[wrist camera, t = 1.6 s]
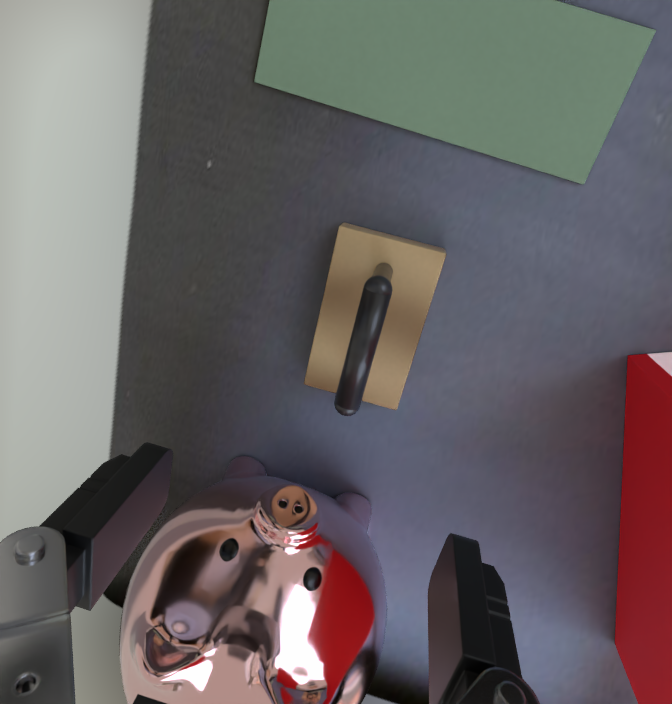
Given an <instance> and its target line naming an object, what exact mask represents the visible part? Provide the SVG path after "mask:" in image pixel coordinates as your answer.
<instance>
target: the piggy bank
mask: <svg viewBox="0 0 672 704" xmlns="http://www.w3.org/2000/svg"><path fill="white" fill-rule="evenodd" d="M371 514H372V508H371V505H370V503H369V501H368V500H367V499H366V498H364V497H363V496H361V495H359V494H356V493H351V492H347V493H342V494H340V495H338V496H337V497H336V498H335V499H333V498H331V497H330V496H328V495H325V494H323V493H321V492H319V491H317V490H314V489H312V488H309V487H306V486H303V485H300V484H298V483H295V482H292V481H288V480H285V479H281V478H277V477H273V476H267V475H266V470H265V468H264V466H263V465H262V463H260V462H259V461H258V460H256V459H254V458H252V457H248V456H239V457H236V458H234V459H233V460H232V461H231V462H230V464H229V466H228V468H227V470H226V472H225V475H224V477H223V478H222V480H221V481H220V482H217V483H215V484H213V485H211V486H209V487H207V488H205V489H203V490H202V491H200V492H198V493H197V494H195V495H193V496H192V497H190V498H189V499H187V500H186V501H185V502H183V503H182V504H181V505H180V506H179V507H177V508H176V509H175V510H174V511H173V512H172V513H171V514H170V515H169V516H168V517H167V518H166V519H165V520H164V521H163V522H162V524H161V525H160V526H159V527H158V529H157V530H156V531H155V533H154V534H153V536H152V537H151V539H150V540H149V542H148V543H147V545H146V547H145V548H144V550H143V552H142V554H141V556H140V558H139V560H138V562H137V564H136V566H135V569H134V571H133V574H132V576H131V579H130V582H129V585H128V589H127V592H126V596H125V600H124V605H123V611H122V617H121V626H120V639H119V640H120V641H119V656H120V670H121V678H122V684H123V688H124V693H125V696H126V700H127V703H128V704H133V702H134V700H135V698H136V696H137V694H139V695H142V696H145V697H149V698H152V699H155V700H158V701H161V702H164V703H167V704H361V703H362V701H363V699H364V697H365V695H366V694H367V691H368V689H369V687H370V685H371V683H372V680H373V678H374V675H375V673H376V670H377V667H378V664H379V660H380V657H381V653H382V649H383V644H384V639H385V632H386V623H387V595H386V587H385V581H384V576H383V572H382V568H381V565H380V562H379V559H378V556H377V554H376V551H375V549H374V547H373V544H372V542H371V540H370V538H369V535H368V533H367V532H368V527H369V522H370V518H371Z"/></svg>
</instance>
